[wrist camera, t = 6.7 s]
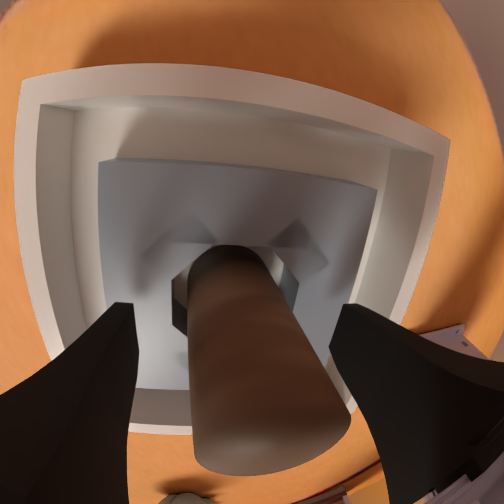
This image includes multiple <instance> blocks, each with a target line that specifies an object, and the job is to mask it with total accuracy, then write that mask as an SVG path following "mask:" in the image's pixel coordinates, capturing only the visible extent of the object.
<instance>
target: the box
mask: <svg viewBox="0 0 504 504" xmlns="http://www.w3.org/2000/svg"><path fill="white" fill-rule="evenodd" d="M449 148H450V139H448V138H446V137H444V136H443V135H441V134H439V133H437V132H435V131H433V130H431V129H429V128H427V127H425V126H423V125H421V124H419V123H417V122H415V121H413V120H411V119H408V118H406V117H404V116H402V115H399V114H397V113H395V112H392V111H390V110H388V109H385V108H383V107H380V106H378V105H375V104H372V103H370V102H367V101H364V100H362V99H359V98H356V97H353V96H350V95H347V94H344V93H341V92H338V91H335V90H331V89H328V88H324V87H321V86H317V85H314V84H310V83H306V82H302V81H298V80H294V79H289V78H285V77H280V76H275V75H270V74H265V73H260V72H254V71H248V70H241V69H234V68H226V67H217V66H207V65H194V64H174V63H136V64H116V65H104V66H94V67H86V68H78V69H72V70H66V71H60V72H54V73H49V74H45V75H40V76H36V77H32V78H28V79H24V80H23V81H22V86H21V92H20V98H19V105H18V112H17V121H16V131H15V146H14V196H15V211H16V222H17V230H18V238H19V245H20V251H21V257H22V263H23V268H24V273H25V277H26V282H27V286H28V290H29V294H30V298H31V302H32V306H33V309H34V313H35V316H36V319H37V323H38V326H39V329H40V332H41V335H42V338H43V340H44V343H45V346H46V349H47V351H48V354H49V356H50V359H51V361H52V360H53V359H55V358H56V357H57V356H58V355H59V354H61V353H62V352H63V351H64V350H65V349H66V348H67V347H68V346H70V345H71V344H72V343H73V342H74V341H75V340H76V339H77V338H79V337H80V336H81V335H82V334H83V333H84V332H85V331H86V330H87V329H88V328H89V327H90V326H91V325H92V324H93V323H94V322H95V321H96V320H97V319H98V318H99V317H100V316H101V315H102V314H103V313H104V312H105V311H106V310H107V309H108V308H109V307H110V306H111V305H112V304H114V303H115V302H126V303H133V304H134V313H135V322H136V330H137V338H138V345H139V351H140V352H139V364H138V376H137V383H136V388H135V393H134V399H133V404H132V410H131V416H130V422H129V429H128V432H138V433H150V434H169V435H193V434H192V422H191V408H190V392H189V371H188V337H187V281H188V274H189V271H190V269H191V266H192V265H193V263H194V262H195V260H196V259H197V258H198V257H199V256H200V255H201V254H203V253H204V252H205V251H207V250H209V249H211V248H213V247H216V246H220V245H240V246H244V247H247V248H249V249H251V250H252V251H254V252H255V253H256V254H258V255H259V256H260V258H261V259H262V260H263V262H264V263H265V265H266V267H267V269H268V270H269V272H270V274H271V276H272V277H273V279H274V281H275V283H276V284H277V286H278V288H279V290H280V291H281V293H282V295H283V296H284V298H285V300H286V302H287V303H288V305H289V307H290V309H291V310H292V312H293V314H294V316H295V317H296V319H297V321H298V323H299V324H300V326H301V328H302V330H303V331H304V333H305V335H306V337H307V338H308V340H309V342H310V344H311V345H312V347H313V349H314V351H315V352H316V354H317V356H318V358H319V359H320V361H321V363H322V365H323V366H324V368H325V370H326V372H327V373H328V375H329V377H330V379H331V380H332V382H333V384H334V386H335V388H336V389H337V391H338V393H339V395H340V396H341V398H342V400H343V402H344V403H345V405H346V407H347V409H348V410H349V412H350V414H352V413H353V412H354V411H355V409H356V407H357V406H358V405H357V403H356V402H355V400H354V398H353V396H352V395H351V393H350V391H349V389H348V388H347V386H346V384H345V383H344V381H343V379H342V377H341V375H340V374H339V372H338V370H337V368H336V366H335V363H334V361H333V358H332V355H331V353H330V350H329V347H328V346H329V344H330V341H331V338H332V335H333V333H334V330H335V327H336V324H337V321H338V318H339V315H340V312H341V309H342V306H343V304H351V303H357V304H360V305H362V306H364V307H367V308H369V309H371V310H373V311H375V312H377V313H378V314H380V315H382V316H384V317H386V318H388V319H390V320H391V321H393V322H395V323H397V324H399V325H400V324H401V321H402V319H403V317H404V314H405V312H406V309H407V307H408V305H409V302H410V299H411V297H412V294H413V292H414V289H415V286H416V284H417V281H418V278H419V275H420V272H421V269H422V266H423V263H424V260H425V257H426V254H427V250H428V247H429V244H430V240H431V237H432V233H433V229H434V226H435V222H436V218H437V214H438V209H439V205H440V201H441V196H442V191H443V186H444V181H445V175H446V169H447V163H448V156H449Z"/></svg>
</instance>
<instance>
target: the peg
mask: <svg viewBox="0 0 504 504" xmlns="http://www.w3.org/2000/svg"><path fill="white" fill-rule="evenodd" d="M187 337H188V371H189V392H190V408H191V422H192V434H193V445H194V455H195V459H196V460H197V462H198V463H199V464H200V465H201V466H203V467H204V468H206V469H208V470H210V471H213V472H216V473H219V474H224V475H231V476H256V475H265V474H270V473H275V472H280V471H283V470H287V469H290V468H293V467H296V466H298V465H301V464H303V463H306V462H308V461H310V460H312V459H314V458H316V457H318V456H319V455H321V454H323V453H324V452H326V451H327V450H328V449H330V448H331V447H332V446H334V445H335V444H336V443H337V442H338V441H339V440H340V439H341V438H342V437H343V436H344V434H345V433H346V432H347V430H348V428H349V426H350V423H351V415H350V412H349V410H348V409H347V407H346V405H345V403H344V402H343V400H342V398H341V396H340V395H339V393H338V391H337V389H336V388H335V386H334V384H333V382H332V380H331V379H330V377H329V375H328V373H327V372H326V370H325V368H324V366H323V365H322V363H321V361H320V359H319V358H318V356H317V354H316V352H315V351H314V349H313V347H312V345H311V344H310V342H309V340H308V338H307V337H306V335H305V333H304V331H303V330H302V328H301V326H300V324H299V323H298V321H297V319H296V317H295V316H294V314H293V312H292V310H291V309H290V307H289V305H288V303H287V302H286V300H285V298H284V296H283V295H282V293H281V291H280V290H279V288H278V286H277V284H276V283H275V281H274V279H273V277H272V276H271V274H270V272H269V270H268V269H267V267H266V265H265V263H264V262H263V260H262V259H261V258H260V256H259V255H258V254H256V253H255V252H254V251H252V250H251V249H249V248H247V247H244V246H240V245H220V246H216V247H213V248H211V249H209V250H207V251H205V252H204V253H203V254H201V255H200V256H199V257H198V258H197V259H196V260H195V262H194V263H193V265H192V266H191V269H190V271H189V274H188V281H187Z"/></svg>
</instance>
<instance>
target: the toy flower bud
mask: <svg viewBox="0 0 504 504" xmlns="http://www.w3.org/2000/svg"><path fill="white" fill-rule="evenodd" d="M159 504H214V502H213V501H212V500H210V499H207V498H200V497H199V496H197V495H195V494H193V493H182V494H180V495H177V494H173V495H169V496H167V497H165V498H164V499H163V500H161V501H160V502H159Z"/></svg>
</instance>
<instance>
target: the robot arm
mask: <svg viewBox="0 0 504 504" xmlns="http://www.w3.org/2000/svg"><path fill="white" fill-rule="evenodd" d="M464 330H465V325H464V324H460V325H456V326H453V327H449V328H445V329H441V330H437V331H433V332H429V333H425V334H421V335H418V334H416V333H414V332H412V331H410V330H408V329H406V328H404V327H402V326H401V325H399V324H397V323H395V322H393V321H391V320H390V319H388V318H386V317H384V316H382V315H380V314H378V313H377V312H375V311H373V310H371V309H369V308H367V307H364V306H362V305H360V304H357V303H351V304H343V306H342V309H341V312H340V315H339V318H338V321H337V324H336V327H335V330H334V333H333V335H332V338H331V341H330V344H329V346H328V347H329V350H330V353H331V355H332V358H333V361H334V363H335V366H336V368H337V370H338V372H339V374H340V375H341V377H342V379H343V381H344V383H345V384H346V386H347V388H348V389H349V391H350V393H351V395H352V396H353V398H354V400H355V402H356V403H357V405H358V407H359V408H360V410H361V412H362V414H363V416H364V418H365V420H366V422H367V424H368V427H369V429H370V432H371V434H372V437H373V439H374V442H375V445H376V448H377V451H378V453H379V456H380V460H381V463H382V467H383V471H384V474H385V478H386V484H387V489H388V495H389V502H390V504H413V503H415V502H417V501H418V500H420V499H421V498H423V499H424V502H425V504H504V362H496V361H491V360H489V359H488V358H487V357H486V356H485V355H484V354H483V353H482V352H481V351H479V350H478V349H477V348H476V347H475V346H474V345H473V344H472V343H471V342H470V341H469V340H468V339H466V338H465V337H464V336H463V335H462V334H463V332H464ZM139 352H140V351H139V345H138V338H137V330H136V322H135V313H134V304H133V303H126V302H115V303H114V304H112V305H111V306H110V307H109V308H108V309H107V310H106V311H105V312H104V313H103V314H102V315H101V316H100V317H99V318H98V319H97V320H96V321H95V322H94V323H93V324H92V325H91V326H90V327H89V328H88V329H87V330H86V331H85V332H84V333H83V334H82V335H81V336H80V337H79V338H77V339H76V340H75V341H74V342H73V343H72V344H71V345H70V346H68V347H67V348H66V349H65V350H64V351H63V352H62V353H61V354H59V355H58V356H57V357H56V358H55V359H53V360H52V361H51V362H50V363H48V364H47V365H46V366H44V367H43V368H42V369H40V370H39V371H38V372H36V373H35V374H33V375H32V376H31V377H29V378H27V379H26V380H24V381H23V382H21V383H19V384H18V385H16V386H15V387H13V388H11V389H10V390H8V391H6V392H5V393H3V394H1V395H0V504H129V498H128V485H127V437H128V429H129V422H130V416H131V410H132V404H133V399H134V393H135V388H136V383H137V376H138V364H139Z"/></svg>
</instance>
